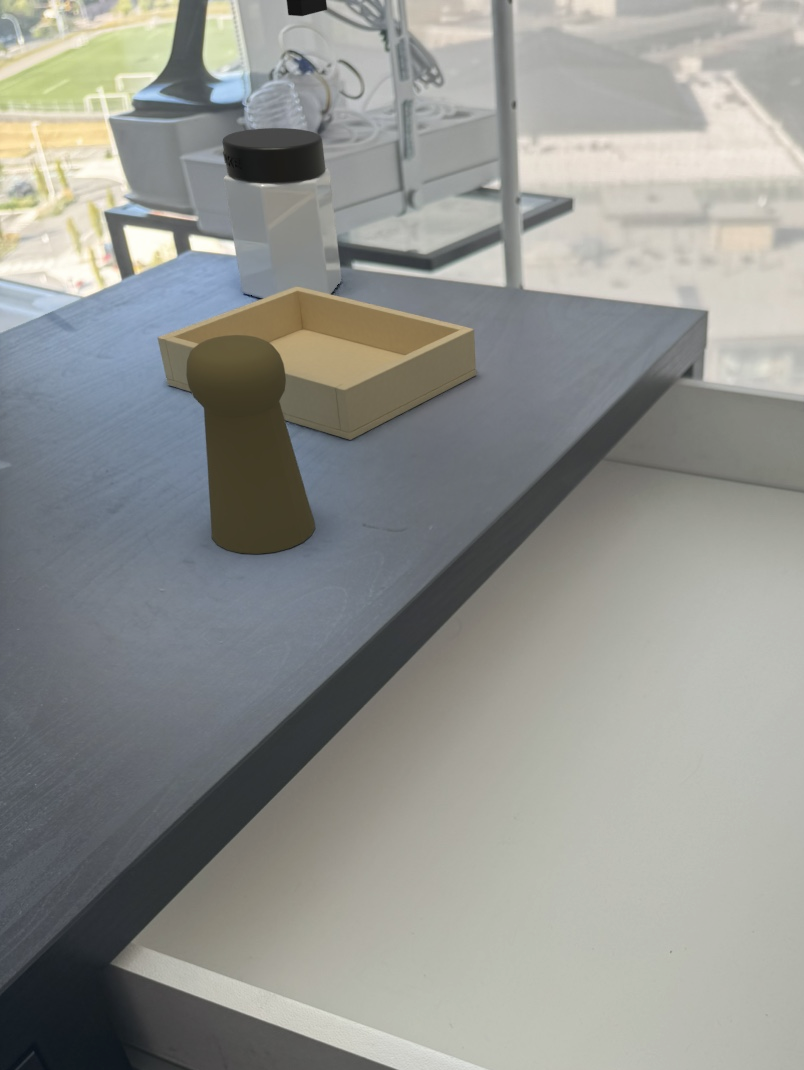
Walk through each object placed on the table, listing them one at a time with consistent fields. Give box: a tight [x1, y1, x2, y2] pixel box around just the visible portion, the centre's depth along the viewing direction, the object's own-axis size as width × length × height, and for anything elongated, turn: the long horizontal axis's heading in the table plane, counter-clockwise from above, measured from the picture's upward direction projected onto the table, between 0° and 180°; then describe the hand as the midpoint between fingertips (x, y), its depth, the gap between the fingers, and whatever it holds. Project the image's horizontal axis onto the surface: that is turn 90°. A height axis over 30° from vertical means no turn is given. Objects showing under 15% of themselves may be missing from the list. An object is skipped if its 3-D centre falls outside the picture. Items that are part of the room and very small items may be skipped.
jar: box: [222, 127, 342, 299], centre depth 100 cm, size 9×8×12 cm
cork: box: [186, 335, 316, 555], centre depth 66 cm, size 6×6×11 cm
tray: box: [157, 286, 477, 441], centre depth 86 cm, size 18×15×4 cm
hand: (187, 4), depth 59 cm, fingers open, 13 cm apart
